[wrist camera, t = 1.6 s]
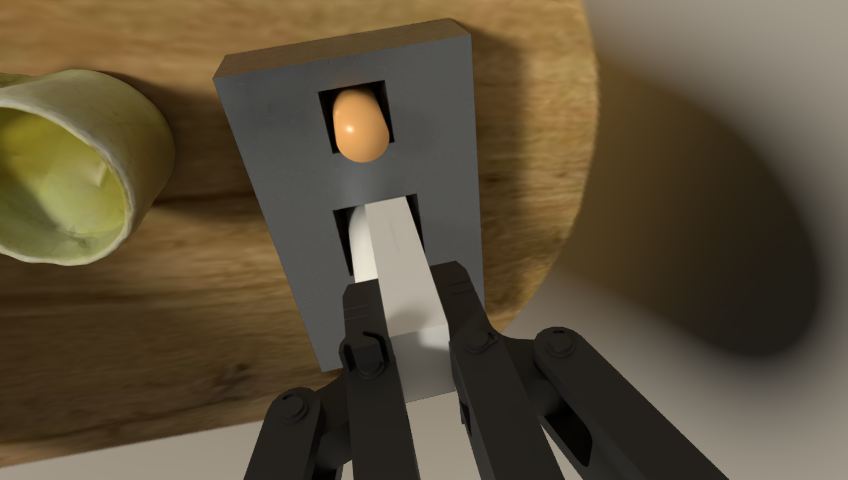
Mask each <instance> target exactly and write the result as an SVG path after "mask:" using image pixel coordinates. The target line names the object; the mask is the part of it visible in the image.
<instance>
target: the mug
mask: <svg viewBox="0 0 848 480" xmlns="http://www.w3.org/2000/svg"><path fill="white" fill-rule="evenodd" d="M175 160H176V151H175V143H174V139H173V135H172V133H171V130H170V128H169V125H168V124H167V122H166V119H165V118H164V116H163V115H162V113H161V112H160V111H159V110H158V108H157V107H156V106H155V105H154V104H153V103H152V102H151V101H149V100H148V99H147V98H146V97H145V96H144V95H143V94H142V93H140V92H139V91H137V90H136V89H134V88H133V87H131V86H130V85H129V84H127V83H125V82H123V81H121V80H119V79H116V78H114V77H112V76H110V75H106V74H103V73H100V72H96V71H91V70H80V69H71V70H65V71H61V72H57V73H51V74H46V75H43V76H26V75H21V74H5V73H0V253H2V254H5V255H8V256H11V257H14V258H16V259H18V260H21V261H24V262H30V263H54V264H59V265H64V266H73V265H83V264H89V263H92V262H94V261H97V260H98V259H101V258H104V257H106V256H108V255H109V254H111V253H112V252H114V251H115V250H116V249H117V248H118V247H119V246H120V245H121V244H123V243H124V242H125V241H126V240H127V239H128V238H129V237H130V236H131V235H132V234H133V233H134V232H135V231H136V230H137V228H138V227H139V225H140V223H141V222H142V220H143V218H144V217H145V215H146V213H147V212H148V210H149V208H150V207H151V205H152V203H153V202H154V200H155V198H156V197H157V196H158V194H159V193H160V192H161V191H162V189H163V188H164V186H165V185H166V183H167V182H168V180H169V178H170V176H171V174H172V172H173V169H174V165H175Z"/></svg>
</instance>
